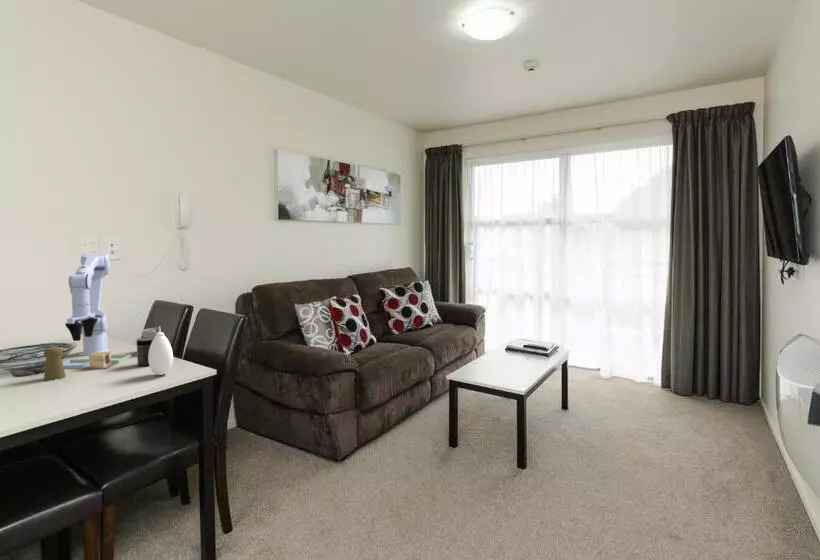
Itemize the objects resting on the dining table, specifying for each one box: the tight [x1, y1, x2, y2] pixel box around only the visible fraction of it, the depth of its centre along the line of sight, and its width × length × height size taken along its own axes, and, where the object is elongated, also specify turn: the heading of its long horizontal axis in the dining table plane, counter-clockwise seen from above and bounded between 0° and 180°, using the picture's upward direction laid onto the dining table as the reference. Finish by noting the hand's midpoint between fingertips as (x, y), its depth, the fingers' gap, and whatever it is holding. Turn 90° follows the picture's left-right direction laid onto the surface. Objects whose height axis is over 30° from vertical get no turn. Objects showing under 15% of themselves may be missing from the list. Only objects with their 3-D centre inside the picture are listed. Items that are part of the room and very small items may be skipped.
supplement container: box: [135, 337, 155, 368], centre depth 175 cm, size 7×7×10 cm
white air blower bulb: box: [148, 325, 174, 376], centre depth 162 cm, size 8×8×18 cm
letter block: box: [88, 350, 112, 368], centre depth 171 cm, size 5×5×5 cm
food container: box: [141, 327, 159, 338], centre depth 195 cm, size 12×6×10 cm, turn 25°
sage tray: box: [111, 353, 132, 364], centre depth 181 cm, size 10×10×2 cm
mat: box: [83, 363, 118, 371], centre depth 172 cm, size 7×8×1 cm
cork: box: [43, 346, 66, 381], centre depth 158 cm, size 6×6×11 cm
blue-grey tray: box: [62, 358, 90, 370], centre depth 174 cm, size 10×10×2 cm
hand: (82, 338), depth 179 cm, fingers open, 7 cm apart
